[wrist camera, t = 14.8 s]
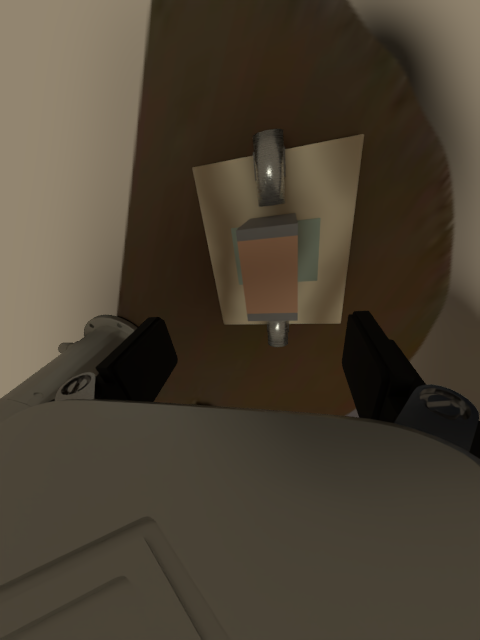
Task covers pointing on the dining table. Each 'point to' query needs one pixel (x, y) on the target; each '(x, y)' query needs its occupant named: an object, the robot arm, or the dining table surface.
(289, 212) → the base
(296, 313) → the orange and grey block
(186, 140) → the dining table surface
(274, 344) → the shaft angled
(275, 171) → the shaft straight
